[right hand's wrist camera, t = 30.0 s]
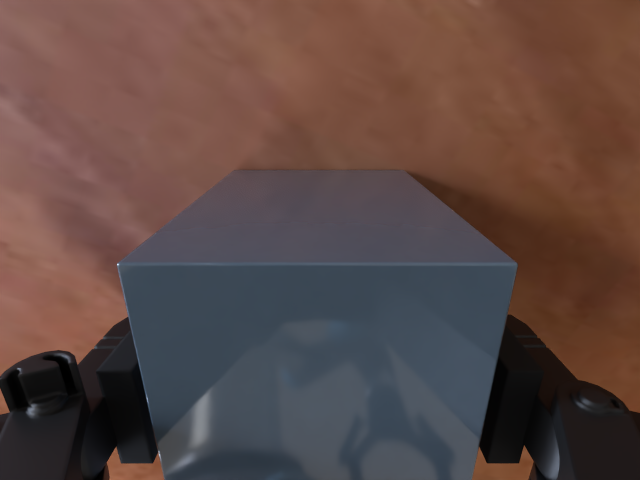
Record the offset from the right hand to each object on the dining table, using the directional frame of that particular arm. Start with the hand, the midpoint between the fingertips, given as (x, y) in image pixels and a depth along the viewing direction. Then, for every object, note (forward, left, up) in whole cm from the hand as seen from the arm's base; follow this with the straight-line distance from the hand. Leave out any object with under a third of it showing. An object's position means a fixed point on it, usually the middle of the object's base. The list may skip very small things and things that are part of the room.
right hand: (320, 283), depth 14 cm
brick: (0, 0, -1) cm, 1 cm away
